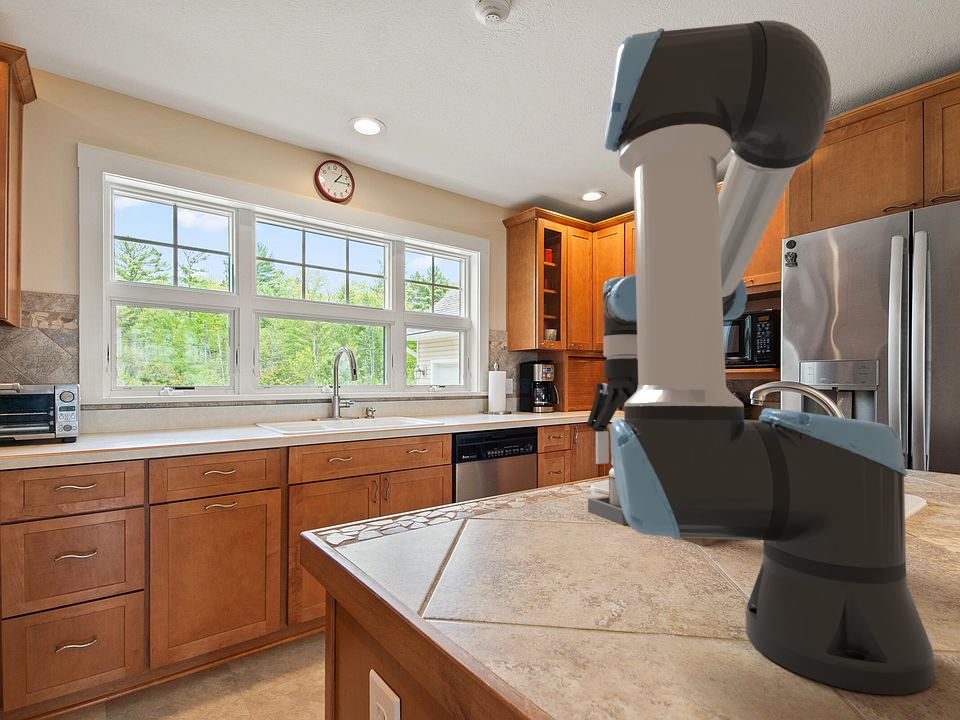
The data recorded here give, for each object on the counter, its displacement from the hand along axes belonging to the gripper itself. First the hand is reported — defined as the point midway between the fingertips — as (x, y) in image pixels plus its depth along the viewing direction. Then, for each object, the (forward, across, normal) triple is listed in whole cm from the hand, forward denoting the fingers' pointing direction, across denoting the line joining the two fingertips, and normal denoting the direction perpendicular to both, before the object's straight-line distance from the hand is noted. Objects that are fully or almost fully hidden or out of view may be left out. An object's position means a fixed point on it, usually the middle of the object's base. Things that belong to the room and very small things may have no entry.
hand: (625, 468), depth 99 cm
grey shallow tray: (+9, +1, -5) cm, 10 cm away
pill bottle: (+9, 0, 0) cm, 9 cm away
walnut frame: (+9, -13, -4) cm, 17 cm away
